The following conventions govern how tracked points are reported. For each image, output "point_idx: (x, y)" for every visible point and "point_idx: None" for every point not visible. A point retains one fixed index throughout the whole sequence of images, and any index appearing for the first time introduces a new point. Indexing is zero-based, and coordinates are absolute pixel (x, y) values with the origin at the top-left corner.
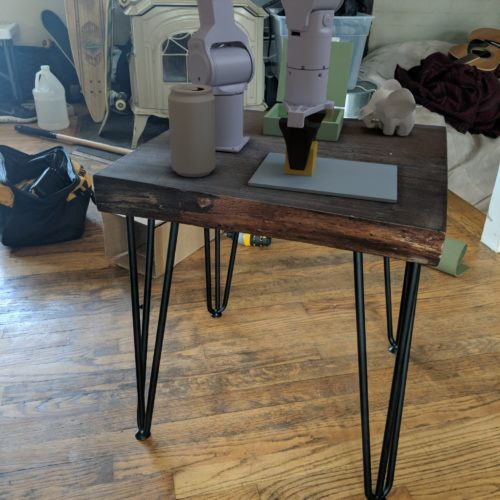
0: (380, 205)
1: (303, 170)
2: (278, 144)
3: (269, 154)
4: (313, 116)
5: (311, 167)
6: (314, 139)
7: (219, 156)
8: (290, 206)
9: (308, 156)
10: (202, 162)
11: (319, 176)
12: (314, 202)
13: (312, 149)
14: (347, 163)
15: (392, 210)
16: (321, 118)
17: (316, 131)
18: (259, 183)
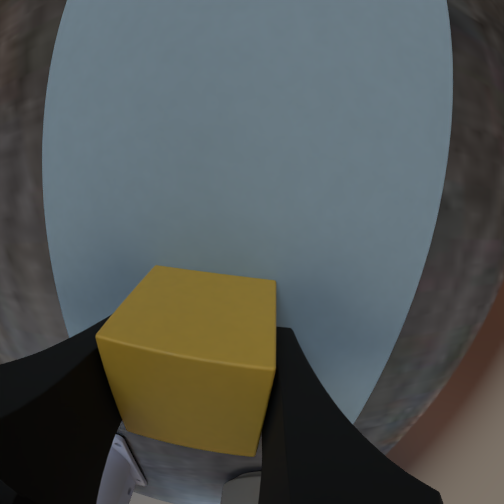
0: (468, 41)
1: (292, 330)
2: (17, 348)
3: None
4: (27, 472)
5: (275, 306)
6: (88, 356)
7: (159, 457)
8: (485, 316)
9: (290, 362)
10: None
11: (268, 246)
12: (475, 255)
13: (271, 375)
14: (69, 131)
15: (485, 24)
16: (2, 435)
17: (437, 493)
18: (359, 411)
